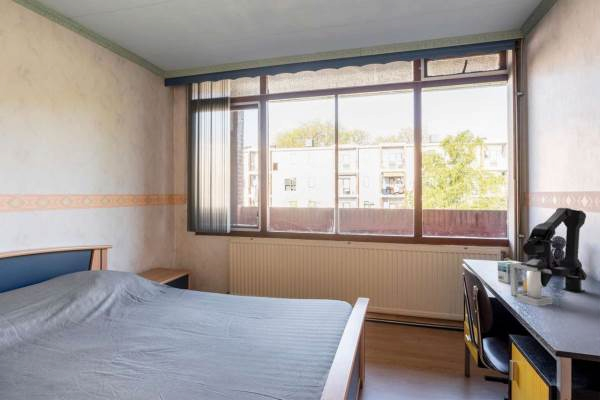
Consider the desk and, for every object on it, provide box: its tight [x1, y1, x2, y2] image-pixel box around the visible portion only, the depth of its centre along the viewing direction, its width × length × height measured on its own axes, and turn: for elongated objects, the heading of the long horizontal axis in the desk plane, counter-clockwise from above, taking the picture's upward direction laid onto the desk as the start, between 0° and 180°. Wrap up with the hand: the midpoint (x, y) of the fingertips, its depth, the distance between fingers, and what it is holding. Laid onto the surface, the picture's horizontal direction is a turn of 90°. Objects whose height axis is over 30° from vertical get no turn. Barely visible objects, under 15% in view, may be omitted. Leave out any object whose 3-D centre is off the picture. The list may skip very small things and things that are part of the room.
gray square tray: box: [516, 293, 554, 307], centre depth 143 cm, size 9×9×2 cm
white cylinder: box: [525, 270, 544, 300], centre depth 143 cm, size 7×7×13 cm
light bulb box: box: [497, 260, 524, 284], centre depth 177 cm, size 11×7×11 cm, turn 105°
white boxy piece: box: [510, 263, 538, 297], centre depth 150 cm, size 13×13×15 cm
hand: (544, 286), depth 149 cm, fingers closed
